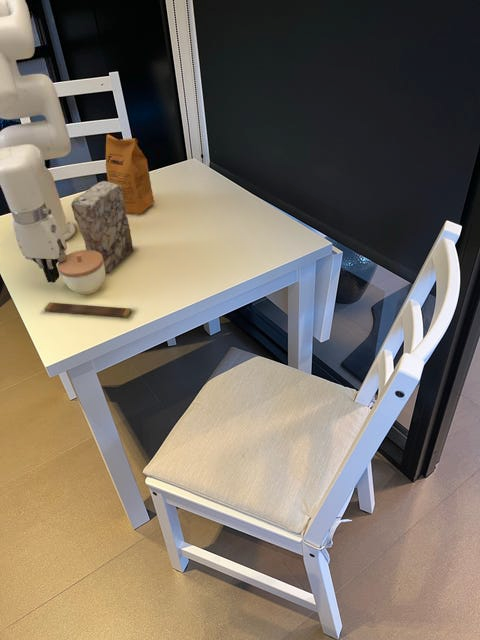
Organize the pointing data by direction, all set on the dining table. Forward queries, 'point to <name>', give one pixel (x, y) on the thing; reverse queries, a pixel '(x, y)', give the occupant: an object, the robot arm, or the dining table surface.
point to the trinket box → (83, 271)
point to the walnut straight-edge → (88, 310)
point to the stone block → (104, 222)
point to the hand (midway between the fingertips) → (54, 279)
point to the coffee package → (129, 173)
